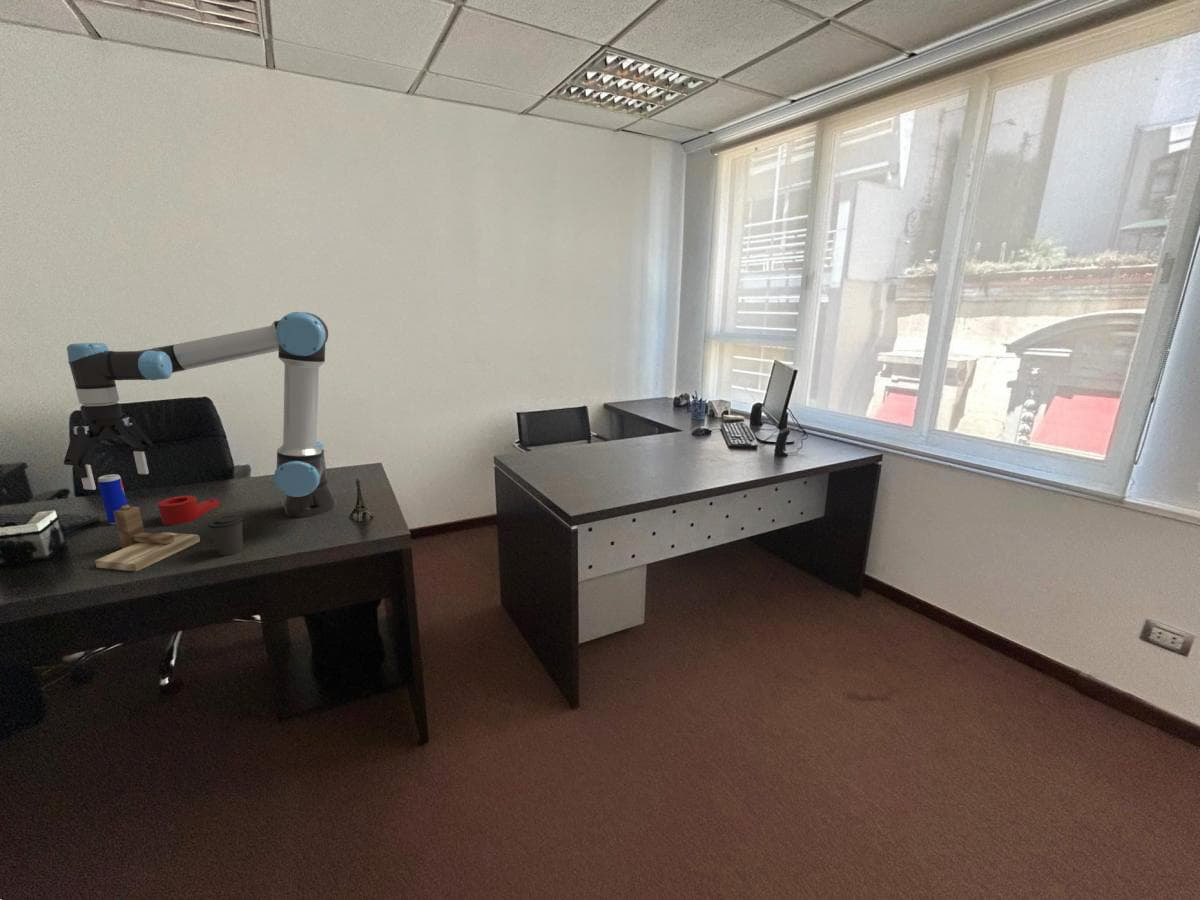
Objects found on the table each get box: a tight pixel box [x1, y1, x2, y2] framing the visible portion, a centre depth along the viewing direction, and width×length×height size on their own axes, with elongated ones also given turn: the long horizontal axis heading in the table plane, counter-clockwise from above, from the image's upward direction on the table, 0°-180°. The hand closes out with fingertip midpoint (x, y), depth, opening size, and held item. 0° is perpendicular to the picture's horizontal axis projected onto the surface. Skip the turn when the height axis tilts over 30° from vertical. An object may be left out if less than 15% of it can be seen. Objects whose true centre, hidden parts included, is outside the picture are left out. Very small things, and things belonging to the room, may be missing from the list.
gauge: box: [113, 504, 174, 549], centre depth 139 cm, size 14×4×12 cm, turn 82°
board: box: [94, 531, 201, 572], centre depth 137 cm, size 12×18×2 cm, turn 172°
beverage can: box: [97, 473, 128, 525], centre depth 156 cm, size 5×5×15 cm
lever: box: [157, 495, 220, 526], centre depth 164 cm, size 18×9×7 cm, turn 172°
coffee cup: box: [207, 514, 245, 557], centre depth 138 cm, size 8×8×10 cm
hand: (118, 481), depth 136 cm, fingers open, 13 cm apart
